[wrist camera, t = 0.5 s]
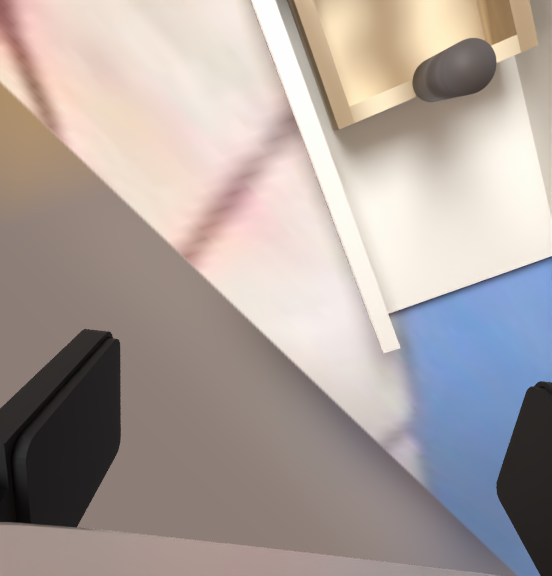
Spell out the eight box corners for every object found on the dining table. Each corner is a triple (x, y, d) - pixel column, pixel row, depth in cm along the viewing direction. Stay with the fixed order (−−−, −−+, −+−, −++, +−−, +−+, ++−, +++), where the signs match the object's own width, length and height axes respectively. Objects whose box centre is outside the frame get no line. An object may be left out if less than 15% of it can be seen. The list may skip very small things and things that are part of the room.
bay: (476, -171, 28) (531, -262, 22) (568, 244, 36) (629, 269, 30) (232, -48, 31) (216, -97, 24) (368, 315, 39) (383, 353, 32)
